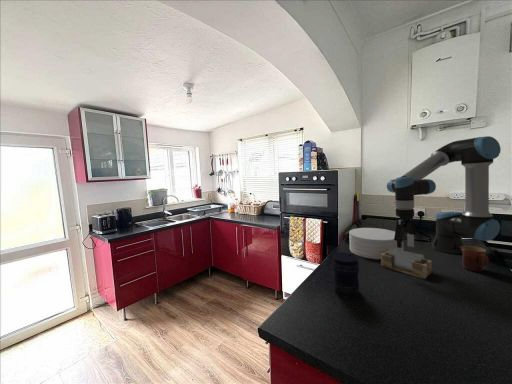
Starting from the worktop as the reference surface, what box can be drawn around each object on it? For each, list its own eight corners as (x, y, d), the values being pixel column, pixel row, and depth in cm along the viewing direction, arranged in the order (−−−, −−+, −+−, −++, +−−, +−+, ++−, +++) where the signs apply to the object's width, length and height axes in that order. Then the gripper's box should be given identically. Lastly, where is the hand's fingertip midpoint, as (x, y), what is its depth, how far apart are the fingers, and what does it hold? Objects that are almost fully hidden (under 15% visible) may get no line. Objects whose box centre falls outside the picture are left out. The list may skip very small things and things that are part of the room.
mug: (455, 265, 107) (455, 245, 106) (476, 265, 105) (476, 245, 105) (474, 276, 95) (475, 254, 95) (498, 277, 94) (498, 254, 93)
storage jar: (348, 300, 82) (347, 263, 81) (329, 289, 91) (327, 256, 90) (364, 293, 87) (363, 258, 86) (344, 283, 96) (343, 251, 95)
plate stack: (399, 247, 136) (399, 229, 136) (401, 263, 113) (401, 242, 112) (352, 242, 152) (352, 226, 151) (346, 255, 128) (345, 236, 127)
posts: (388, 260, 116) (388, 250, 116) (431, 272, 101) (432, 260, 101) (380, 266, 111) (380, 254, 110) (425, 278, 95) (425, 266, 95)
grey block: (391, 262, 113) (391, 248, 112) (423, 271, 101) (423, 255, 101) (388, 265, 110) (387, 250, 110) (420, 274, 99) (420, 257, 98)
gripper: (405, 204, 114) (406, 242, 116) (385, 211, 99) (386, 255, 101) (422, 205, 108) (423, 245, 109) (403, 213, 93) (404, 259, 95)
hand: (405, 250), depth 105 cm, fingers open, 13 cm apart
